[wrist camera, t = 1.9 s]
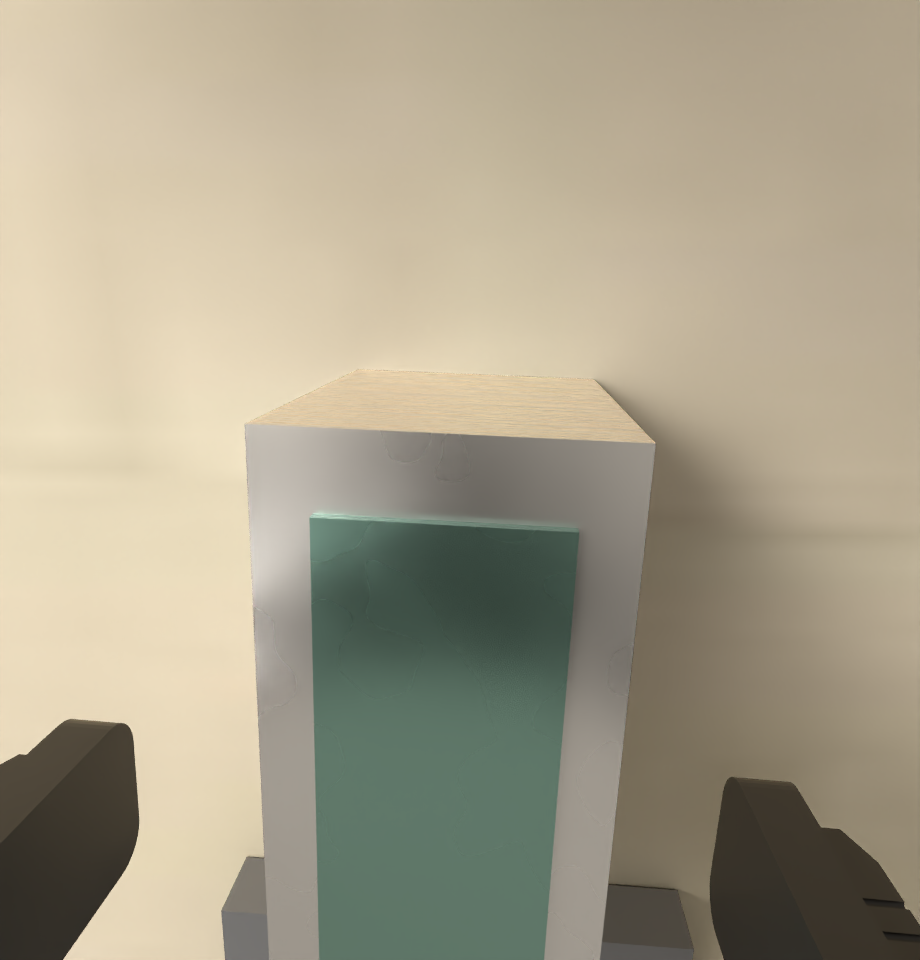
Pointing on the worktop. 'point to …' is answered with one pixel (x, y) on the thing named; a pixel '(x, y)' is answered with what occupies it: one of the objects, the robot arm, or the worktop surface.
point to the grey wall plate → (625, 941)
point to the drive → (443, 661)
